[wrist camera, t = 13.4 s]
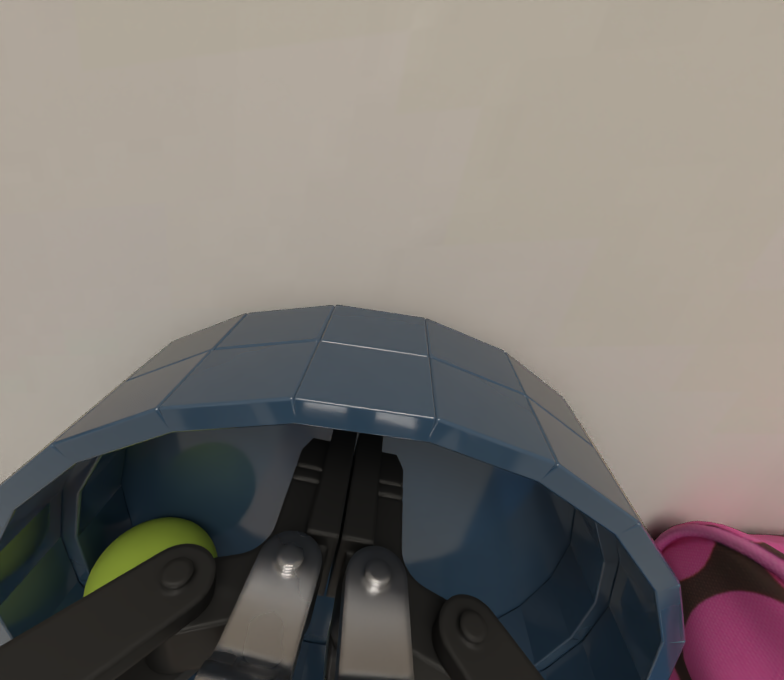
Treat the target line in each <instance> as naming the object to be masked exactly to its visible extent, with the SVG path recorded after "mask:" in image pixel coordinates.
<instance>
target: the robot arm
mask: <svg viewBox="0 0 784 680" xmlns="http://www.w3.org/2000/svg"><path fill="white" fill-rule="evenodd" d="M356 438H357V432H350V431H342V430H335V429H333V433H332V437H331V441H326V440H321V439H316V438H313V439H312V440H311V441H310V442H309V443H308V444H307V445H306V446H305V447H304V448H303V449H302V451H301V454H300V456H299V459H298V462H297V466H296V468H295V471H294V474H293V477H292V479H291V482H290V485H289V488H288V491H287V494H286V496H285V499H284V502H283V505H282V508H281V511H280V514H279V516H278V519H277V522H276V525H275V527H274V530H273V531H272V533H271V535H270V536H269V537H268V538H267V539H266V540H265V541H264V542H263V543H262V544H261V545H259V546H258V547H256V548H254V549H252V550H250V551H248V552H245V553H241V554H236V555H229V556H222V557H215V558H213V556H212V554H211V553H210V552H209V551H208V550H207V549H206V548H204V547H202V546H200V545H197V544H189V543H186V544H179V545H175V546H172V547H169V548H167V549H165V550H163V551H161V552H159V553H158V554H156V555H154V556H153V557H151V558H149V559H147V560H146V561H144V562H142V563H141V564H139V565H137V566H136V567H134V568H132V569H130V570H129V571H127V572H125V573H124V574H122V575H120V576H119V577H117V578H115V579H114V580H112V581H110V582H108V583H107V584H105V585H103V586H102V587H100V588H98V589H97V590H95V591H93V592H91V593H90V594H88V595H86V596H85V597H83V598H81V599H80V600H78V601H76V602H74V603H73V604H71V605H69V606H68V607H66V608H64V609H63V610H61V611H59V612H57V613H56V614H54V615H52V616H51V617H49V618H47V619H46V620H44V621H42V622H41V623H39V624H37V625H35V626H34V627H32V628H30V629H29V630H27V631H25V632H24V633H22V634H20V635H18V636H17V637H15V638H13V639H12V640H10V641H8V642H7V643H5V644H3V645H1V646H0V680H188V679H189V678H190V677H191V676H192V675H194V674H195V673H196V672H197V671H198V670H199V671H198V673H197V675H196V676H195V678H194V680H292V677H293V674H294V670H295V667H296V663H297V660H298V656H299V652H300V649H301V645H302V642H303V638H304V635H305V633H306V631H307V629H308V627H309V625H310V622H311V618H312V614H313V610H314V606H315V602H316V598H317V595H318V596H324V592H325V588H326V585H327V581H328V577H329V573H330V569H331V573H330V578H329V583H328V589H327V594H326V597H331V598H335V600H334V606H333V612H332V618H331V623H330V626H329V629H328V634H327V642H326V652H325V662H324V672H323V680H545V679H544V678H543V677H542V675H541V674H540V673H539V672H538V670H537V669H536V668H535V666H534V665H533V664H532V662H531V661H530V660H529V659H528V657H527V656H526V655H525V653H524V652H523V651H522V649H521V648H520V647H519V646H518V644H517V643H516V642H515V640H514V639H513V638H512V636H511V635H510V634H509V633H508V631H507V630H506V629H505V627H504V626H503V625H502V623H501V622H500V621H499V620H498V618H497V617H496V616H495V614H494V613H493V612H492V611H491V609H490V608H489V607H488V606H487V605H486V604H485V603H483V602H482V601H481V600H479V599H477V598H475V597H473V596H470V595H466V594H458V595H454V596H452V597H450V598H449V599H448V600H446V599H445V598H443V597H441V596H439V595H437V594H436V593H434V592H432V591H430V590H429V589H427V588H425V587H424V586H422V585H421V584H420V583H418V582H417V581H416V580H415V579H414V578H413V577H412V575H411V574H410V573H409V571H408V569H407V567H406V565H405V563H404V560H403V555H402V514H403V501H402V499H403V468H402V466H401V463H400V461H399V459H398V457H397V455H395V454H390V453H385V452H382V444H383V436H378V435H371V434H364V433H359V434H358V438H357V442H356ZM355 444H356V446H355ZM331 566H332V567H331Z"/></svg>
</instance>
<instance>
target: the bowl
mask: <svg viewBox="0 0 784 680" xmlns="http://www.w3.org/2000/svg"><path fill="white" fill-rule="evenodd" d="M333 429H335V430H342V431H350V432H357V438H358V434H359V433H364V434H371V435H378V436H383V444H382V452H385V453H390V454H395V455H397V457H398V459H399V461H400V463H401V466H402V468H403V499H402V501H403V514H402V555H403V560H404V563H405V565H406V567H407V569H408V571H409V573H410V574H411V575H412V577H413V578H414V579H415V580H416V581H417V582H418V583H420V584H421V585H422V586H424V587H425V588H427V589H429V590H430V591H432V592H434V593H436V594H437V595H439V596H441V597H443V598H445V599H446V600H448V599H449V598H450V597H452V596H454V595H458V594H466V595H470V596H473V597H475V598H477V599H479V600H481V601H482V602H483V603H485V604H486V605H487V606H488V607H489V608H490V609H491V611H492V612H493V613H494V614H495V616H496V617H497V618H498V620H499V621H500V622H501V623H502V625H503V626H504V627H505V629H506V630H507V631H508V633H509V634H510V635H511V636H512V638H513V639H514V640H515V642H516V643H517V644H518V646H519V647H520V648H521V649H522V651H523V652H524V653H525V655H526V656H527V657H528V659H529V660H530V661H531V662H532V664H533V665H534V666H535V668H536V669H537V670H538V672H539V673H540V674H541V675H542V677H543V678H544V679H545V680H669V678H670V676H671V674H672V672H673V669H674V667H675V665H676V663H677V660H678V658H679V656H680V654H681V651H682V649H683V647H684V645H685V643H686V641H685V639H686V638H685V627H684V616H683V605H682V594H681V585H680V581H679V580H678V578H677V576H676V575H675V573H674V572H673V570H672V568H671V567H670V565H669V564H668V562H667V560H666V559H665V557H664V556H663V554H662V552H661V551H660V549H659V548H658V546H657V544H656V543H655V541H654V540H653V538H652V536H651V535H650V533H649V532H648V530H647V528H646V527H645V525H644V523H643V522H642V520H641V519H640V517H639V515H638V514H637V512H636V511H635V509H634V507H633V506H632V504H631V503H630V501H629V499H628V498H627V496H626V495H625V493H624V491H623V490H622V488H621V487H620V485H619V483H618V482H617V480H616V479H615V477H614V475H613V474H612V472H611V471H610V469H609V467H608V466H607V464H606V463H605V461H604V459H603V458H602V456H601V455H600V453H599V451H598V450H597V448H596V447H595V445H594V444H593V442H592V441H591V439H590V437H589V436H588V434H587V433H586V431H585V430H584V428H583V427H582V425H581V424H580V422H579V421H578V419H577V418H576V416H575V414H574V413H573V411H572V410H571V408H570V407H569V405H568V404H567V402H566V401H565V399H563V397H562V396H561V395H559V394H558V393H557V392H556V391H554V390H553V389H552V388H551V387H549V386H548V385H547V384H546V383H544V382H543V381H542V380H541V379H539V378H538V377H537V376H536V375H534V374H533V373H532V372H530V371H529V370H528V369H527V368H525V367H524V366H523V365H522V364H520V363H519V362H518V361H517V360H515V359H514V358H513V357H512V356H510V355H509V354H508V353H506V352H504V351H503V350H501V349H499V348H496V347H494V346H491V345H489V344H487V343H484V342H482V341H479V340H477V339H475V338H472V337H470V336H468V335H465V334H463V333H460V332H458V331H456V330H453V329H451V328H448V327H446V326H444V325H441V324H439V323H436V322H434V321H432V320H429V319H425V318H422V317H415V316H408V315H402V314H395V313H389V312H382V311H375V310H369V309H362V308H356V307H349V306H342V305H336V306H334V305H328V306H318V307H307V308H296V309H286V310H275V311H265V312H254V313H249V314H242V315H240V316H237V317H234V318H232V319H229V320H227V321H224V322H221V323H219V324H216V325H213V326H211V327H208V328H206V329H203V330H200V331H198V332H195V333H192V334H190V335H187V336H184V337H182V338H179V339H177V340H175V341H173V342H171V343H170V344H169V345H167V346H166V347H165V348H164V349H162V350H161V351H160V352H159V353H158V354H156V355H155V356H154V357H153V358H151V359H150V360H149V361H148V362H147V363H145V364H144V365H143V366H142V367H140V368H139V369H138V370H137V371H135V372H134V373H133V374H132V375H131V376H129V377H128V378H127V379H126V380H124V381H123V382H122V383H121V384H120V385H118V386H117V387H116V388H115V389H114V390H112V391H111V392H110V393H109V394H108V395H106V396H105V397H104V398H103V399H102V400H100V401H99V402H98V403H97V404H96V405H94V406H93V407H92V408H91V409H90V410H89V411H87V412H86V413H85V414H84V415H83V416H81V417H80V418H79V419H78V420H77V421H75V422H74V423H73V424H72V425H71V426H69V427H68V428H67V429H66V430H65V431H63V432H62V433H61V434H60V435H59V436H57V437H56V438H55V439H54V440H53V441H51V442H50V443H49V444H48V445H47V446H45V447H44V448H43V449H42V450H41V451H39V452H38V453H37V454H36V455H35V456H33V457H32V458H31V459H30V460H29V461H27V462H26V463H25V464H24V465H23V466H21V467H20V468H19V469H18V470H17V471H16V472H14V473H13V474H12V475H11V476H10V477H8V478H7V479H6V480H5V481H4V482H2V483H1V484H0V646H1V645H3V644H5V643H7V642H8V641H10V640H12V639H13V638H15V637H17V636H18V635H20V634H22V633H24V632H25V631H27V630H29V629H30V628H32V627H34V626H35V625H37V624H39V623H41V622H42V621H44V620H46V619H47V618H49V617H51V616H52V615H54V614H56V613H57V612H59V611H61V610H63V609H64V608H66V607H68V606H69V605H71V604H73V603H74V602H76V601H78V600H80V599H81V598H83V595H84V590H85V585H86V582H87V579H88V577H89V574H90V572H91V570H92V568H93V566H94V565H95V563H96V561H97V560H98V558H99V557H100V555H101V554H102V553H103V552H104V551H105V549H106V548H107V547H108V546H109V545H110V544H111V543H112V542H113V541H114V540H116V539H117V538H118V537H119V536H120V535H122V534H123V533H124V532H126V531H128V530H129V529H131V528H133V527H135V526H137V525H139V524H141V523H143V522H146V521H149V520H153V519H157V518H164V517H176V518H182V519H186V520H189V521H191V522H193V523H195V524H197V525H199V526H200V527H201V528H202V529H204V530H205V531H206V532H207V534H208V535H209V536H210V538H211V539H212V541H213V543H214V546H215V548H216V552H217V557H222V556H229V555H236V554H241V553H245V552H248V551H250V550H252V549H254V548H256V547H258V546H259V545H261V544H262V543H263V542H264V541H265V540H266V539H267V538H268V537H269V536H270V535H271V533H272V531H273V530H274V527H275V525H276V522H277V519H278V516H279V514H280V511H281V508H282V505H283V502H284V499H285V496H286V494H287V491H288V488H289V485H290V482H291V479H292V477H293V474H294V471H295V468H296V466H297V462H298V459H299V456H300V454H301V451H302V449H303V448H304V447H305V446H306V445H307V444H308V443H309V442H310V441H311V440H312V439H313V438H316V439H321V440H326V441H331V437H332V433H333ZM357 438H356V442H357ZM355 446H356V444H355ZM331 567H332V566H331ZM330 573H331V569H330ZM330 573H329V577H328V581H327V585H326V588H325V592H324V596H318V595H317V598H316V602H315V606H314V610H313V614H312V618H311V622H310V625H309V627H308V629H307V631H306V633H305V635H304V638H303V642H302V645H301V649H300V652H299V656H298V660H297V663H296V667H295V670H294V674H293V677H292V680H323V672H324V662H325V652H326V642H327V634H328V629H329V626H330V623H331V618H332V612H333V606H334V600H335V598H331V597H326V594H327V589H328V583H329V578H330ZM198 671H199V670H198ZM198 671H197V672H196V673H195V674H194V675H192V676H191V677H190V678H189V679H188V680H194V678H195V676H196V675H197V673H198Z"/></svg>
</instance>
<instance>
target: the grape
mask: <svg viewBox="0 0 784 680" xmlns="http://www.w3.org/2000/svg"><path fill="white" fill-rule="evenodd" d="M186 543H189V544H197V545H200V546H202V547H204V548H206V549H207V550H208V551H209V552H210V553H211V554H212V556H213V558H215V557H217V552H216V548H215V546H214V543H213V541H212V539H211V538H210V536H209V535H208V534H207V532H206V531H205V530H204V529H202V528H201V527H200V526H199V525H197V524H195V523H193V522H191V521H189V520H186V519H182V518H176V517H164V518H157V519H153V520H149V521H146V522H143V523H141V524H139V525H137V526H135V527H133V528H131V529H129V530H128V531H126V532H124V533H123V534H122V535H120V536H119V537H118V538H117V539H116V540H114V541H113V542H112V543H111V544H110V545H109V546H108V547H107V548H106V549H105V551H104V552H103V553H102V554H101V555H100V557H99V558H98V560H97V561H96V563H95V565H94V566H93V568H92V570H91V572H90V574H89V577H88V579H87V582H86V585H85V590H84V595H83V597H85V596H86V595H88V594H90V593H91V592H93V591H95V590H97V589H98V588H100V587H102V586H103V585H105V584H107V583H108V582H110V581H112V580H114V579H115V578H117V577H119V576H120V575H122V574H124V573H125V572H127V571H129V570H130V569H132V568H134V567H136V566H137V565H139V564H141V563H142V562H144V561H146V560H147V559H149V558H151V557H153V556H154V555H156V554H158V553H159V552H161V551H163V550H165V549H167V548H169V547H172V546H175V545H179V544H186Z"/></svg>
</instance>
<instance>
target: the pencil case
mask: <svg viewBox="0 0 784 680" xmlns="http://www.w3.org/2000/svg"><path fill="white" fill-rule="evenodd" d="M655 543H656V544H657V546H658V548H659V549H660V551H661V552H662V554H663V556H664V557H665V559H666V560H667V562H668V564H669V565H670V567H671V568H672V570H673V572H674V573H675V575H676V576H677V578H678V580H679V581H680V585H681V594H682V605H683V616H684V627H685V638H686V639H685V641H686V643H685V645H684V647H683V649H682V651H681V654H680V656H679V658H678V660H677V663H676V665H675V667H674V669H673V672H672V674H671V676H670V678H669V680H784V536H783V535H753V534H746V533H744V532H741V531H739V530H736V529H734V528H731V527H728V526H725V525H722V524H717V523H712V522H702V521H692V522H687V523H683V524H679V525H675V526H673V527H671V528H670V529H668V530H666V531H665V532H663V533H661V534H660V536H659V537H658V538H657V539H656V540H655Z"/></svg>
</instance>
